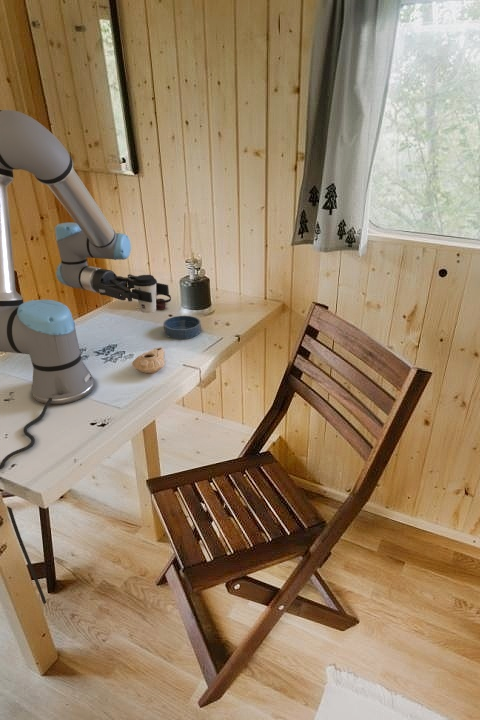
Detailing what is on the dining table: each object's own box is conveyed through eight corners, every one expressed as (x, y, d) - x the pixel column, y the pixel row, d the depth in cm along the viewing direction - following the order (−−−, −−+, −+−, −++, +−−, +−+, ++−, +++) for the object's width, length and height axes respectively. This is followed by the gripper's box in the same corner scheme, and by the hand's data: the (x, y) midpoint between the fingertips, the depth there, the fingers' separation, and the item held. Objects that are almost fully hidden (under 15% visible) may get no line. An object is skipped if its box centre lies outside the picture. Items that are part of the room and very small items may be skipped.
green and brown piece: (171, 284, 168) (142, 282, 166) (170, 312, 174) (143, 311, 172) (170, 276, 176) (143, 275, 174) (170, 303, 181) (143, 302, 179)
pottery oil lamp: (175, 358, 140) (177, 343, 134) (155, 387, 133) (156, 373, 128) (149, 345, 140) (149, 330, 134) (127, 374, 133) (127, 359, 128)
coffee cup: (143, 316, 137) (138, 282, 132) (132, 309, 142) (127, 276, 136) (164, 310, 141) (160, 278, 135) (153, 304, 145) (149, 272, 140)
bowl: (187, 342, 150) (186, 332, 148) (157, 335, 155) (156, 325, 153) (208, 329, 159) (207, 320, 157) (179, 322, 164) (178, 313, 162)
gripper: (124, 283, 154) (181, 295, 146) (77, 302, 139) (138, 317, 131) (120, 260, 150) (179, 271, 142) (72, 277, 135) (134, 291, 127)
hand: (159, 293), depth 136 cm, fingers closed on coffee cup, 7 cm apart
